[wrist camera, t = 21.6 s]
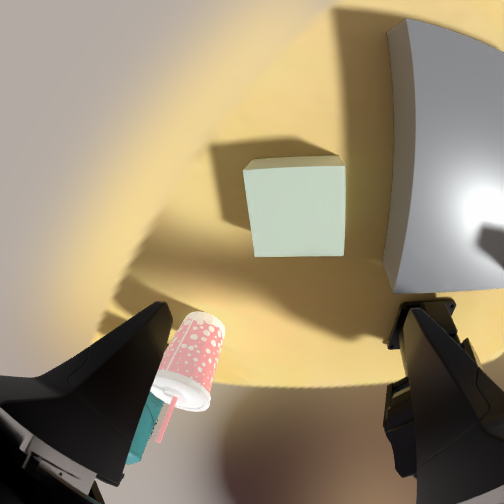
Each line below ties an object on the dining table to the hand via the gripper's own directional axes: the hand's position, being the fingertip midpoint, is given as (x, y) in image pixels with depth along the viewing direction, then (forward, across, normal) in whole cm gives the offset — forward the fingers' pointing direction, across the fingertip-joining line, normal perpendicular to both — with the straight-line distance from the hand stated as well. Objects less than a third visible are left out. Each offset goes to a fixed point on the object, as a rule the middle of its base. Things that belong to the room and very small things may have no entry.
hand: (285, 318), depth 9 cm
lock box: (+12, -14, -3) cm, 19 cm away
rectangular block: (+12, 0, 0) cm, 12 cm away
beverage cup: (+12, +10, +14) cm, 21 cm away
